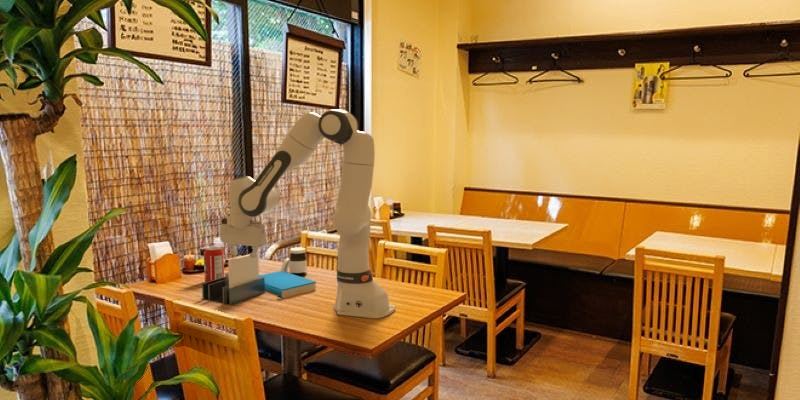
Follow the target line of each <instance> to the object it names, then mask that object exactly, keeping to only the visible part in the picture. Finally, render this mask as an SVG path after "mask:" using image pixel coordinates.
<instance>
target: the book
mask: <svg viewBox="0 0 800 400" xmlns="http://www.w3.org/2000/svg"><path fill="white" fill-rule="evenodd" d="M263 277H264V280H265V291H268V292H271V293H272V294H276V295H277V296H276V297H277V298H279V299H280V298H281V299H285V298H289V297H293V296H296V295H302V294H304V293H305V294H306V293H309V292H314V291H317V290H316V287H317V286H316V285H317V281H315V280H312V279H309V278H305V277H303V276H297V275H293V274H290V272H288V271H287V272H284V271H281V270H279V271H275V272H270V273H265V274H259V279H260V278H263Z"/></svg>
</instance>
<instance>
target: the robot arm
mask: <svg viewBox="0 0 800 400" xmlns="http://www.w3.org/2000/svg"><path fill="white" fill-rule="evenodd" d="M294 123H295V124H294V125H293V126H292V127H291V129H289V132H288V133H287V134H286V136H285V138H284V139H283V140H282V142H281V144H280V145H279V148H278V149H277V150H276V151H275V154H274V155H273V156H272V158H271V159H270V160H269V162H268V163H267V165H266V166H265V168H264V169H263V170H262V171H261V173H260V174H259V175H258V177H257V178H256V179H254V178H252V177H251V176H248V175H246V176H245V175H244V176H239V177H235V178H232V179H231V180H230V182H229V187H228V200H229V201H228V202H229V205H230V209H229V215H228V216H225V217H221V218H220V219H219V224H220V227H219V239H220V241H221V243H223V244H228V248H229V249H230V253H231V256H238V250H237V249H236V245H237V246H238V245H239V246H248V247H251V249H252V252H250V253H249V254H250V255H251V256H250V257H251V258H256V257H257V254H256V253H258V250H259V249H260V248H262V247H265V246H266V245H267V242H268V240H267V234H266V228H265V225H264V223H262V221H259V220H258V221H257V220H255V217H257V216H260V215H261V214H264V213H266V212H269V211H272V210H273V209H275V208H276V207H277V206H278V204H279V202H280V195H279V192H278V190H277V189H276V188H275V186H276V185H277V184H278V182H279V181H280V179H281V178H282V177H283V176H284V175H286V173H288V172H289V171H290V170H293V169H295V168H297V167H299V166H301V165H303V164H305V162H306V161H308V159H309V158H310V157H311V156H312V154H313V153H314V152H315V151H316V149H317V147H318V146H319V144H320V143H321V142H322V141H323V140H324V139H327V140H328V141H331V142H333V143H335V144H337V145H341V146H342V147H343V158H342V165H341V166H342V168H341V177H340V185H339V190H338V194H337V200H336V205H335V210H334V215H333V218H332V219H333V226H334V228H335V230H336V231H337V232H338V233H339V241H338V245H337V246H338V247H337V270H336V283H337V288H336V290H337V291H336V297H335V302H334V306H333V309H334V311H336V314H337V315H339V316H348V317H350V316H351V317H359V318H367V319H380V318H383V317H386V316H388V315H390V314H393V313H394V312H395V311H396V306H395V305H394V304H392V303H390V301H389V295H388V291H386V290H384V288H382V287H381V286H380V285H379V284H378V283H377V282H376V281H374V280H373V276H375V273H376V272H375V271H374V272H371V270H370V268H369V246H370V237H371V236H370V235H371V234H370V233H371V221H372V219H371V218H372V211H371V208H370V206H369V201H370V195H371V191H372V185H373V177H374V168H375V157H376V156H375V152H376V151H375V150H376V149H375V141H374V138H373V136H372V135H371V134H369V133H368V132H366V131H360V130H359V129H360V123H359V121H358V118H357V117H356V116H355V115H354V114H353V113H351V112H349V111H347V110H343V109H336V108H335V109H333V108H332V109H328V110H326V111H324V112H323V113H322V114H321V115H319V114H318V113H317V112H309V111H308V112H305V113H303V115H302V116H300V118H299V119H298V120H296V122H294Z"/></svg>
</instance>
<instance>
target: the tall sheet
mask: <svg viewBox="0 0 800 400" xmlns="http://www.w3.org/2000/svg"><path fill="white" fill-rule="evenodd" d="M256 254H257V257H256V258H251V257H250V256H251V255H250V253H249V254H245V255H242V256H238V257H233V258H229V259H227V263H228V264H227V267H228V272H229V289H230V288H233V287H236V286H239V285H242V284H245V283H248V282H251V281H254V280H257V279H259V275H260V271H259V268H260V267H259V264H260V263H259V252H257V253H256Z"/></svg>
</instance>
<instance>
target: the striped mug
mask: <svg viewBox="0 0 800 400" xmlns="http://www.w3.org/2000/svg"><path fill="white" fill-rule="evenodd" d="M307 267H308V266H307V253H306V248H305V247H300V246H299V247H298V246H297V247H291V248H290V249H289V255H288V257H287V258H286V259H284V261H283V263H282V265H281V268H280V269H281V270H280V271H284V272H287V273H288V271H289V273H290V274H293V275H297V276H300V277H303V276H306V274H307V272H308V271H307V269H308V268H307Z"/></svg>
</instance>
